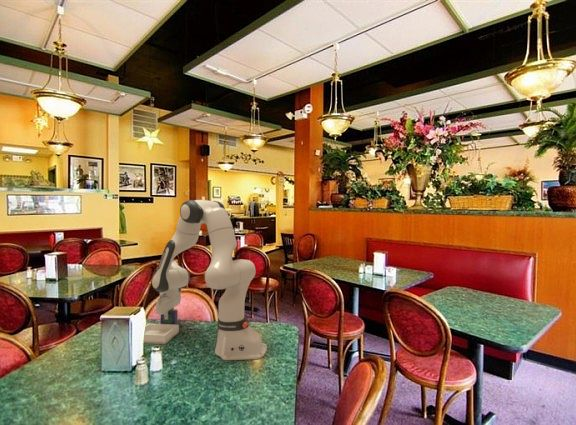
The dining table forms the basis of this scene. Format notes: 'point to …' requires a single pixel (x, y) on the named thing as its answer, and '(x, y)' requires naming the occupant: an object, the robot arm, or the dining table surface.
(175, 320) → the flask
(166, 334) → the tub
